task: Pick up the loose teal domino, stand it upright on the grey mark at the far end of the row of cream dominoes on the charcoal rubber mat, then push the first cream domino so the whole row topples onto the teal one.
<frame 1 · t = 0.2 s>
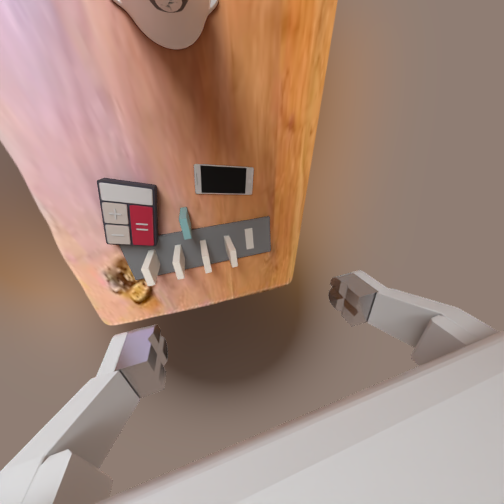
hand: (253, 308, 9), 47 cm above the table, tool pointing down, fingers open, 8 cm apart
domino 4: (227, 243, 58), point 1 cm above the table, touching domino mat
domino 1: (154, 257, 54), point 1 cm above the table, touching domino mat
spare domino: (185, 216, 52), on the table
calculator: (133, 213, 48), on the table, touching domino mat
domino mat: (204, 246, 57), on the table
smartphone: (224, 179, 51), on the table
domino 3: (204, 247, 57), point 1 cm above the table, touching domino mat
domino 2: (180, 252, 55), point 1 cm above the table, touching domino mat
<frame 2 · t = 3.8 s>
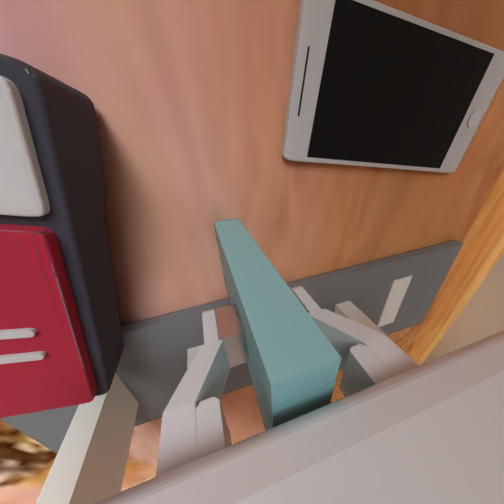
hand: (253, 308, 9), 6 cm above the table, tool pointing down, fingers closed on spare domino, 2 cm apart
domino 4: (339, 320, 20), point 1 cm above the table, touching domino mat
domino 1: (116, 391, 15), point 1 cm above the table, touching domino mat
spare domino: (231, 253, 14), on the table, touching gripper
domino mat: (273, 333, 19), on the table
smartphone: (389, 108, 13), on the table
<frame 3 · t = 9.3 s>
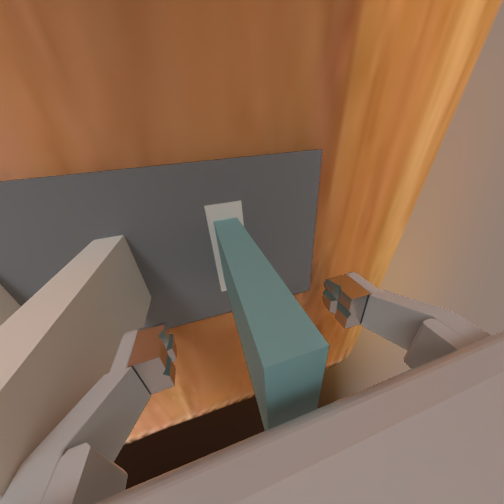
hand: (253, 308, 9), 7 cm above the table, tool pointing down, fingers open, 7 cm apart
domino 4: (125, 271, 12), point 1 cm above the table, touching domino mat, gripper
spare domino: (230, 251, 14), point 1 cm above the table, touching domino mat
domino mat: (5, 290, 12), on the table
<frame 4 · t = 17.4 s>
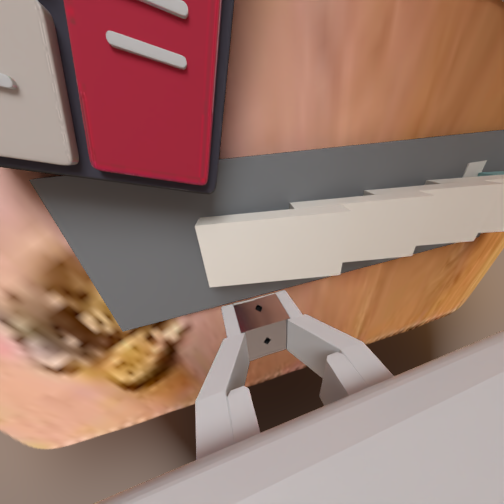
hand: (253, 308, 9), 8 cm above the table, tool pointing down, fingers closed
domino 4: (423, 209, 18), point 2 cm above the table, tilted 72°, touching domino 3
domino 1: (204, 253, 14), point 2 cm above the table, tilted 77°, touching domino mat
domino mat: (342, 217, 18), on the table
domino 3: (363, 221, 17), point 2 cm above the table, tilted 75°, touching domino 2, domino 4, domino mat
domino 2: (291, 236, 15), point 2 cm above the table, tilted 76°, touching domino 3, domino mat
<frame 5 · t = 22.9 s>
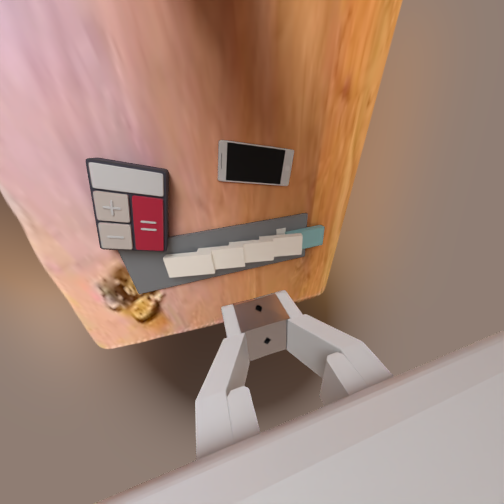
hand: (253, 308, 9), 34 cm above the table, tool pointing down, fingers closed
domino 4: (259, 247, 46), point 2 cm above the table, tilted 76°, touching domino 3, domino mat, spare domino
domino 1: (167, 266, 41), point 2 cm above the table, tilted 77°, touching domino 2, domino mat
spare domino: (286, 242, 47), point 2 cm above the table, tilted 91°, touching domino 4, domino mat
calculator: (136, 207, 36), on the table, touching domino mat
domino mat: (225, 251, 45), on the table
smartphone: (255, 164, 39), on the table
domino 3: (230, 253, 44), point 2 cm above the table, tilted 77°, touching domino 2, domino 4, domino mat
domino 2: (199, 259, 43), point 2 cm above the table, tilted 77°, touching domino 1, domino 3, domino mat
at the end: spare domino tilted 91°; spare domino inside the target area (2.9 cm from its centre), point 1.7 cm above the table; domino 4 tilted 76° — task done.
